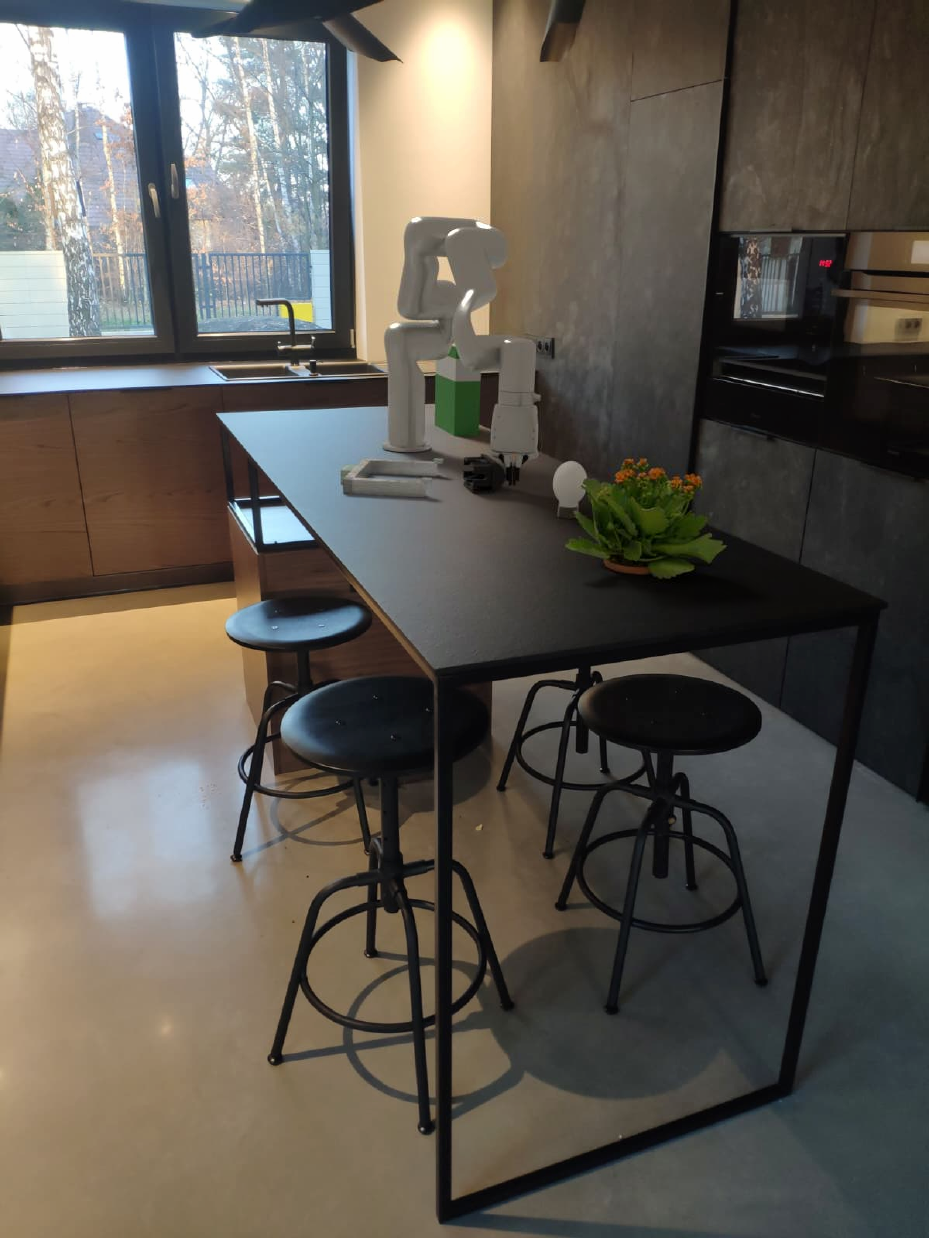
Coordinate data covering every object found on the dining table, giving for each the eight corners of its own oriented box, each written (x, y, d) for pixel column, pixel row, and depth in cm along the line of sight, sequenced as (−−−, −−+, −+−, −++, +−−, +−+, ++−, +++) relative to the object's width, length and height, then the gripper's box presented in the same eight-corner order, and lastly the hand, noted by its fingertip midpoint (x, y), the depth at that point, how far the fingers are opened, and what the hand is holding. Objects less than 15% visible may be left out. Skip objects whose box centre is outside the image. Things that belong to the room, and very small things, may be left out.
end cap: (505, 493, 204) (506, 462, 201) (473, 494, 202) (474, 463, 199) (492, 482, 213) (493, 453, 210) (462, 483, 211) (463, 453, 208)
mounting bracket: (353, 470, 220) (353, 454, 219) (443, 474, 219) (443, 458, 217) (331, 492, 200) (331, 474, 199) (430, 497, 198) (430, 480, 197)
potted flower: (586, 594, 145) (595, 482, 139) (533, 549, 166) (539, 450, 160) (730, 583, 152) (745, 476, 145) (661, 541, 173) (671, 446, 167)
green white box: (434, 425, 280) (436, 341, 272) (458, 424, 283) (460, 341, 274) (454, 436, 265) (456, 347, 256) (478, 435, 267) (481, 347, 259)
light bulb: (557, 521, 184) (561, 465, 180) (546, 512, 190) (549, 458, 186) (590, 519, 185) (594, 464, 181) (577, 511, 191) (581, 457, 187)
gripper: (551, 398, 203) (546, 482, 210) (482, 395, 204) (479, 479, 211) (551, 403, 196) (546, 489, 203) (479, 400, 197) (477, 486, 204)
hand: (512, 484), depth 207 cm, fingers closed
